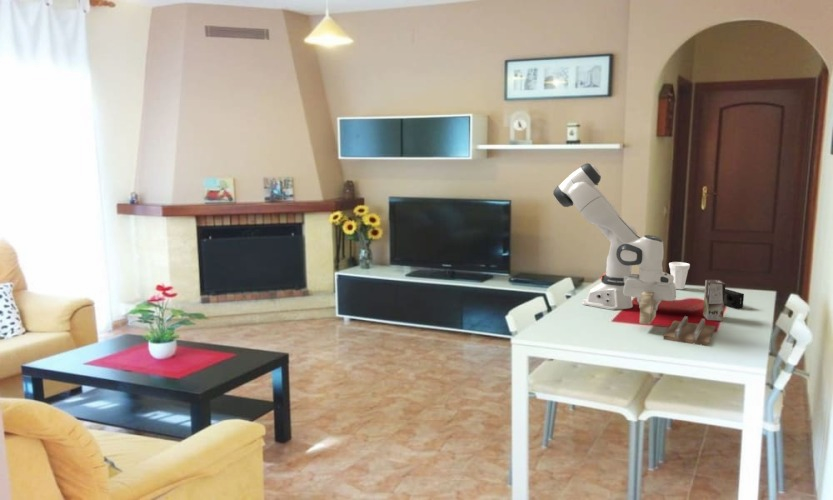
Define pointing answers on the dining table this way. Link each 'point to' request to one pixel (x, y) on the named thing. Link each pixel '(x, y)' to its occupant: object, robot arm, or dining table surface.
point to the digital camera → (733, 299)
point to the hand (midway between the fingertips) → (648, 308)
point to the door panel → (647, 308)
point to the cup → (679, 273)
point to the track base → (690, 332)
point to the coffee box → (714, 299)
